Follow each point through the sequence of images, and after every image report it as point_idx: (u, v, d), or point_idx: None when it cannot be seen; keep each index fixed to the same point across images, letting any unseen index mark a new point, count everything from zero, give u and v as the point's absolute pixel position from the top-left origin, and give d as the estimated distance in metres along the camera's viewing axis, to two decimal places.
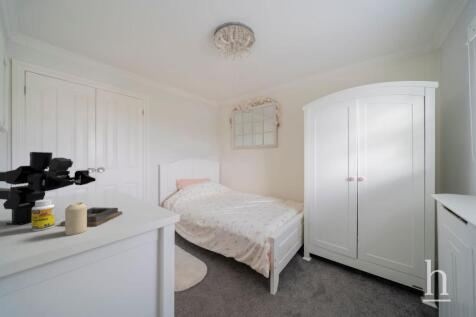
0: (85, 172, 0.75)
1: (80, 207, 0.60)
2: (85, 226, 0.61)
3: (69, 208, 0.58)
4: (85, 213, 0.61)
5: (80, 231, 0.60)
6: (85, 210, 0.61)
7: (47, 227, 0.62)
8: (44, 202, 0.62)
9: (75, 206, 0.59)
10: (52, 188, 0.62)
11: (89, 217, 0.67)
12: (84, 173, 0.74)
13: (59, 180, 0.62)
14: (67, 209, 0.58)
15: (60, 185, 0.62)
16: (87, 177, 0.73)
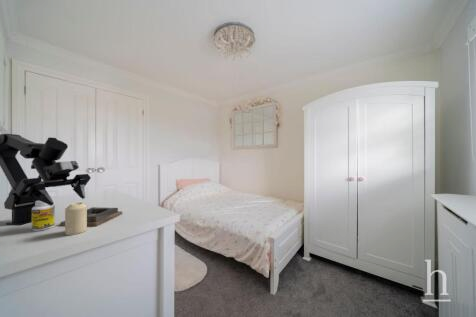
0: (84, 181, 0.69)
1: (80, 207, 0.60)
2: (85, 226, 0.61)
3: (69, 208, 0.58)
4: (85, 213, 0.61)
5: (80, 231, 0.60)
6: (85, 210, 0.61)
7: (47, 227, 0.62)
8: None
9: (75, 206, 0.59)
10: (33, 196, 0.57)
11: (89, 217, 0.67)
12: (81, 182, 0.68)
13: (42, 194, 0.57)
14: (67, 209, 0.58)
15: (41, 199, 0.57)
16: (80, 189, 0.67)
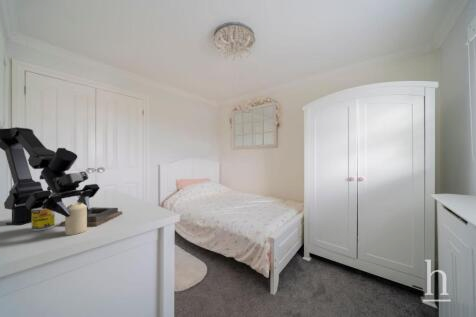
0: (88, 192, 0.66)
1: (80, 207, 0.60)
2: (85, 226, 0.61)
3: (69, 208, 0.58)
4: (85, 213, 0.61)
5: (80, 231, 0.60)
6: (85, 210, 0.61)
7: (47, 227, 0.62)
8: None
9: (75, 206, 0.59)
10: (50, 208, 0.57)
11: (89, 217, 0.67)
12: (86, 194, 0.65)
13: (59, 206, 0.57)
14: None
15: (57, 210, 0.57)
16: (84, 202, 0.64)
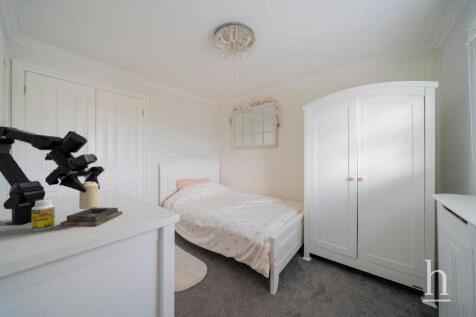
0: (96, 173, 0.73)
1: (95, 185, 0.68)
2: (97, 202, 0.69)
3: (85, 185, 0.65)
4: (97, 190, 0.69)
5: (94, 206, 0.67)
6: (97, 188, 0.69)
7: (47, 227, 0.62)
8: (44, 202, 0.62)
9: (90, 183, 0.67)
10: (66, 185, 0.63)
11: (89, 217, 0.67)
12: (94, 174, 0.72)
13: (76, 183, 0.64)
14: None
15: (74, 187, 0.64)
16: (94, 181, 0.71)
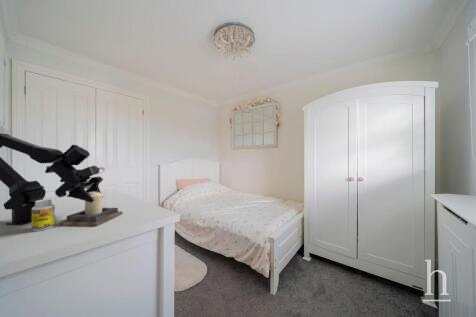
0: (98, 183, 0.77)
1: (100, 194, 0.73)
2: None
3: (91, 195, 0.71)
4: None
5: None
6: None
7: (47, 227, 0.62)
8: (44, 202, 0.62)
9: (96, 193, 0.72)
10: (73, 196, 0.67)
11: (89, 217, 0.67)
12: (96, 184, 0.76)
13: (84, 193, 0.68)
14: None
15: (81, 197, 0.68)
16: None
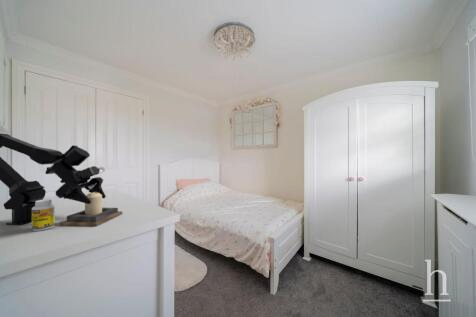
0: (100, 183, 0.79)
1: (100, 195, 0.73)
2: None
3: (91, 196, 0.70)
4: (101, 200, 0.74)
5: None
6: None
7: (47, 227, 0.62)
8: (44, 202, 0.62)
9: (95, 194, 0.72)
10: (70, 198, 0.66)
11: (89, 217, 0.67)
12: (99, 184, 0.78)
13: (81, 195, 0.67)
14: (89, 197, 0.70)
15: (78, 199, 0.67)
16: (100, 191, 0.77)
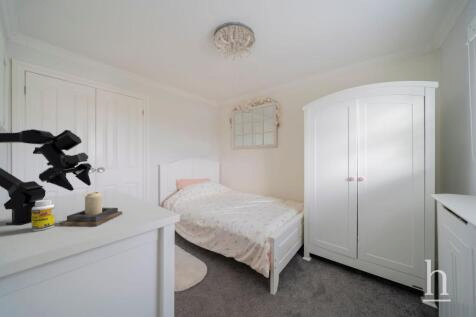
0: (88, 170, 0.79)
1: (100, 195, 0.73)
2: None
3: (91, 196, 0.70)
4: (101, 200, 0.74)
5: None
6: (101, 198, 0.74)
7: (47, 227, 0.62)
8: (44, 202, 0.62)
9: (95, 194, 0.72)
10: (53, 182, 0.66)
11: (89, 217, 0.67)
12: (86, 171, 0.78)
13: (64, 181, 0.67)
14: (89, 197, 0.70)
15: (61, 185, 0.67)
16: (86, 177, 0.77)
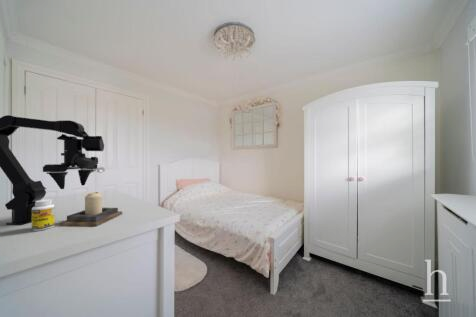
0: (91, 171, 0.81)
1: (100, 195, 0.73)
2: None
3: (91, 196, 0.70)
4: (101, 200, 0.74)
5: None
6: None
7: (47, 227, 0.62)
8: (44, 202, 0.62)
9: (95, 194, 0.72)
10: (52, 175, 0.68)
11: (89, 217, 0.67)
12: (89, 172, 0.80)
13: (60, 179, 0.69)
14: (89, 197, 0.70)
15: (56, 180, 0.69)
16: (84, 177, 0.80)
